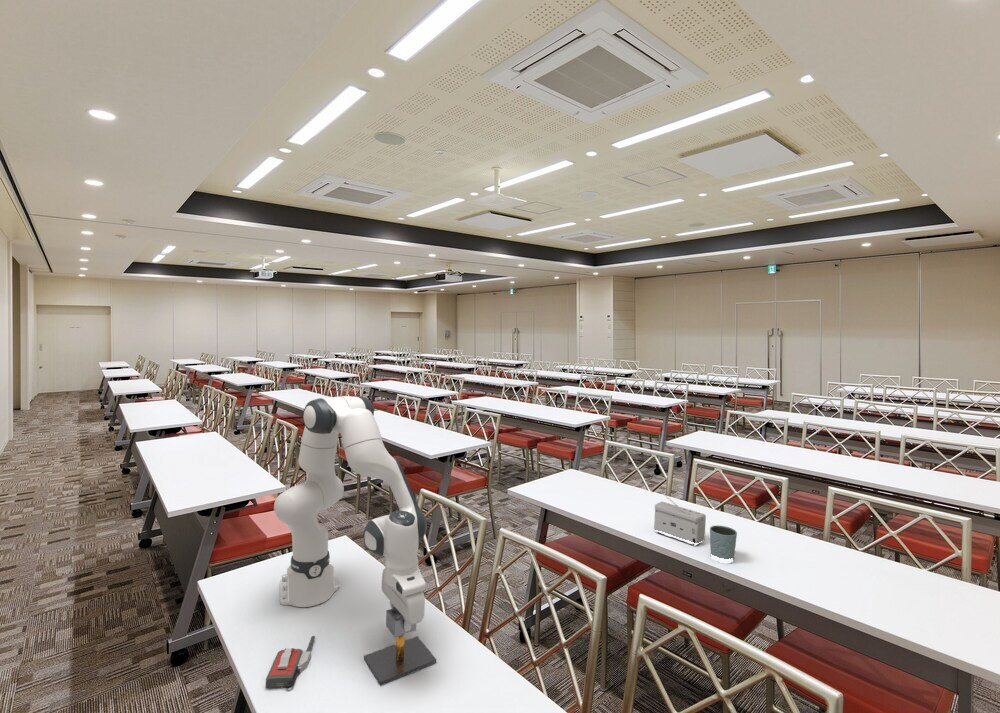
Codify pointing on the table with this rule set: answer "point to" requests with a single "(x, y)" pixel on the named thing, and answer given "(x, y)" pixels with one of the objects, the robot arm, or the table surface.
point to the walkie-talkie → (288, 667)
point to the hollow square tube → (396, 623)
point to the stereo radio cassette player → (679, 521)
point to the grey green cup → (722, 541)
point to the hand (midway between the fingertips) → (401, 622)
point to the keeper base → (399, 667)
